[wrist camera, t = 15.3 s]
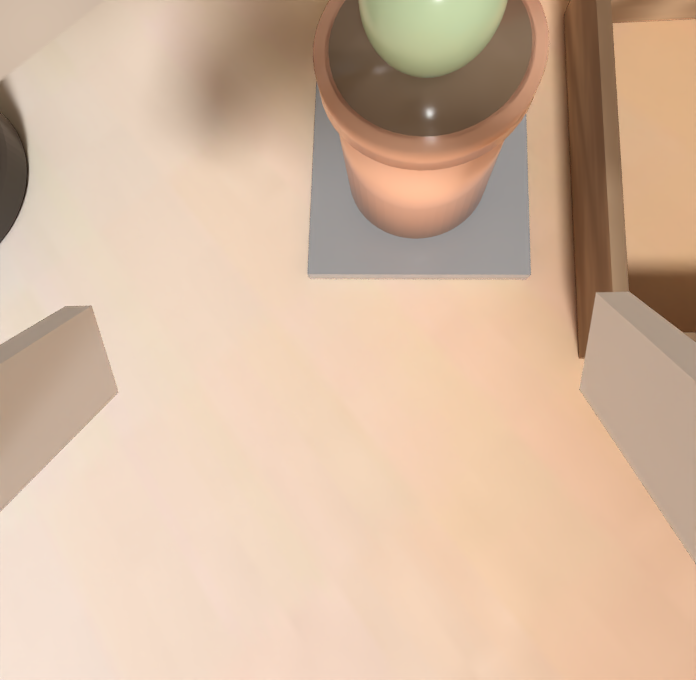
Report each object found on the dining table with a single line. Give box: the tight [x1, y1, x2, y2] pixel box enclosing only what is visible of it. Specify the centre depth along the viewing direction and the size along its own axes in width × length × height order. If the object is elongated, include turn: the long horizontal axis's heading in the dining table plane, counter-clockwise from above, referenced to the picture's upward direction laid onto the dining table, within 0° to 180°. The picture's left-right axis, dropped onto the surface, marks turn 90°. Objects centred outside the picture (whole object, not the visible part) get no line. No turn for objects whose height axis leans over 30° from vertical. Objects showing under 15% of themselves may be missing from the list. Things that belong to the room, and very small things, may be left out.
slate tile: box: [308, 83, 531, 279], centre depth 32 cm, size 14×14×1 cm
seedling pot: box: [313, 0, 549, 239], centre depth 23 cm, size 10×10×16 cm
